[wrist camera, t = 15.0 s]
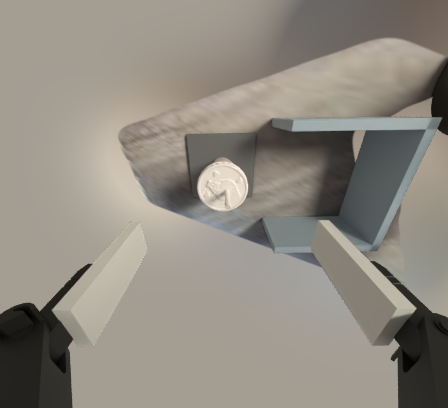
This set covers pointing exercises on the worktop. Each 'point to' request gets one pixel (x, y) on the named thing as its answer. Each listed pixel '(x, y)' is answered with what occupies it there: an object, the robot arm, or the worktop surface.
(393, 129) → the open frame
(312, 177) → the worktop surface
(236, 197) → the smoothie
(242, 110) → the worktop surface
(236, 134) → the mat
